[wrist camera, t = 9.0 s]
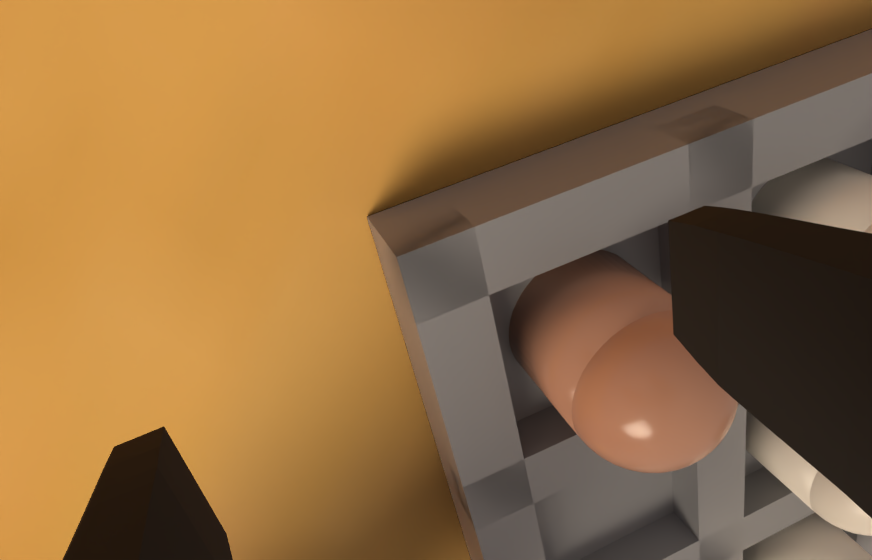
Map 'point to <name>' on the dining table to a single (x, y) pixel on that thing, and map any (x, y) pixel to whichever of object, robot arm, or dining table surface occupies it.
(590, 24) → the dining table surface
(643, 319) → the terracotta egg
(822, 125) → the egg tray
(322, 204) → the dining table surface
